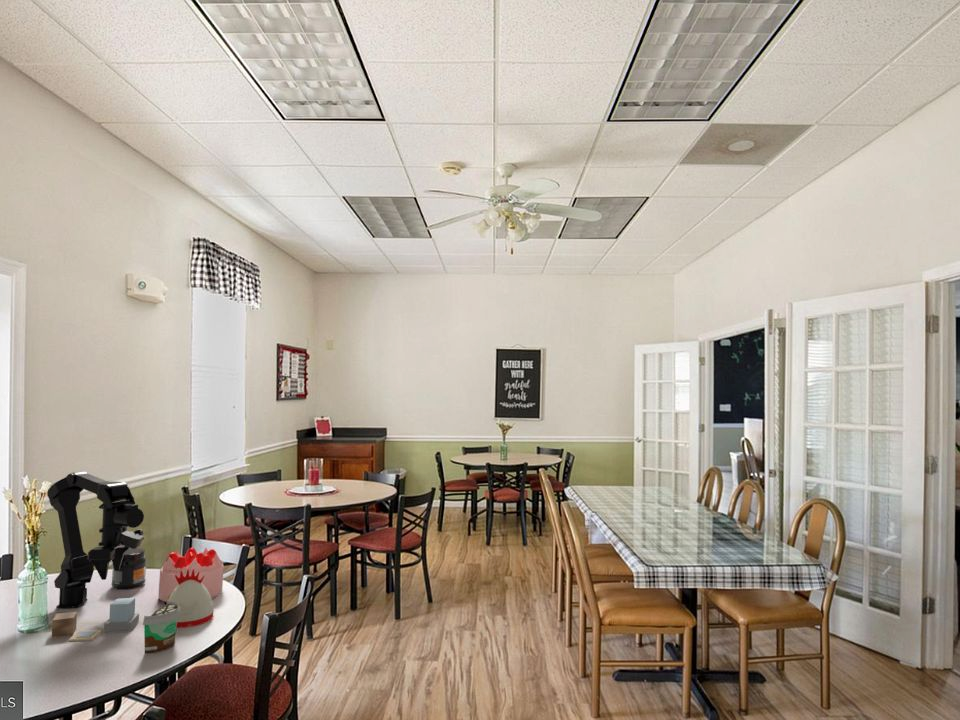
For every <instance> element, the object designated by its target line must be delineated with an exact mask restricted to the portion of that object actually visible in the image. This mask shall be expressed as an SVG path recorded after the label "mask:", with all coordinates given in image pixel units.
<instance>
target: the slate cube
mask: <svg viewBox="0 0 960 720" xmlns="http://www.w3.org/2000/svg"><path fill="white" fill-rule="evenodd" d="M135 612H136V597H130V598H127V597H126V598H124V597H123V598H122V597H121V598H116V599H115V600H114V601H112V602H111V603H110V604H109V617H108V618H109V622H128V621H129V620H130V619H131V618H132V617H133V616H134V615H135V614H136V613H135Z"/></svg>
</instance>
